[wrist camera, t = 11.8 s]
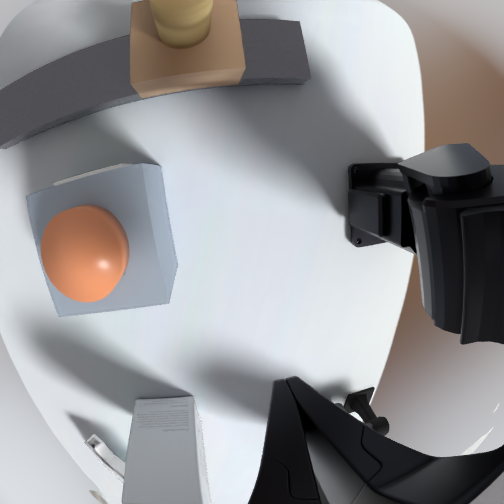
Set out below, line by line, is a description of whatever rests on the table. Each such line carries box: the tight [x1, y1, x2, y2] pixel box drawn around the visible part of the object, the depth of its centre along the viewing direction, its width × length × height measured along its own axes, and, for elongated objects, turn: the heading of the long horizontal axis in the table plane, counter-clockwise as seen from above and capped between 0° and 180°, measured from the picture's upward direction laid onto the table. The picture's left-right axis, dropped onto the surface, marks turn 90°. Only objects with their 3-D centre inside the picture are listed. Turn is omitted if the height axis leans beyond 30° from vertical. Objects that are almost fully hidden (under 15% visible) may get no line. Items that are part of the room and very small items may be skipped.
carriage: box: [130, 0, 246, 98], centre depth 9 cm, size 6×6×8 cm
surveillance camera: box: [314, 387, 389, 504], centre depth 21 cm, size 6×12×10 cm
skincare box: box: [122, 396, 212, 504], centre depth 17 cm, size 6×4×12 cm
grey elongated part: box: [84, 434, 126, 483], centre depth 22 cm, size 15×8×11 cm
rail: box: [0, 19, 311, 149], centre depth 14 cm, size 24×5×2 cm, turn 96°
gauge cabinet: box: [26, 163, 178, 317], centre depth 15 cm, size 7×7×6 cm
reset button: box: [41, 204, 130, 302], centre depth 12 cm, size 4×4×4 cm
